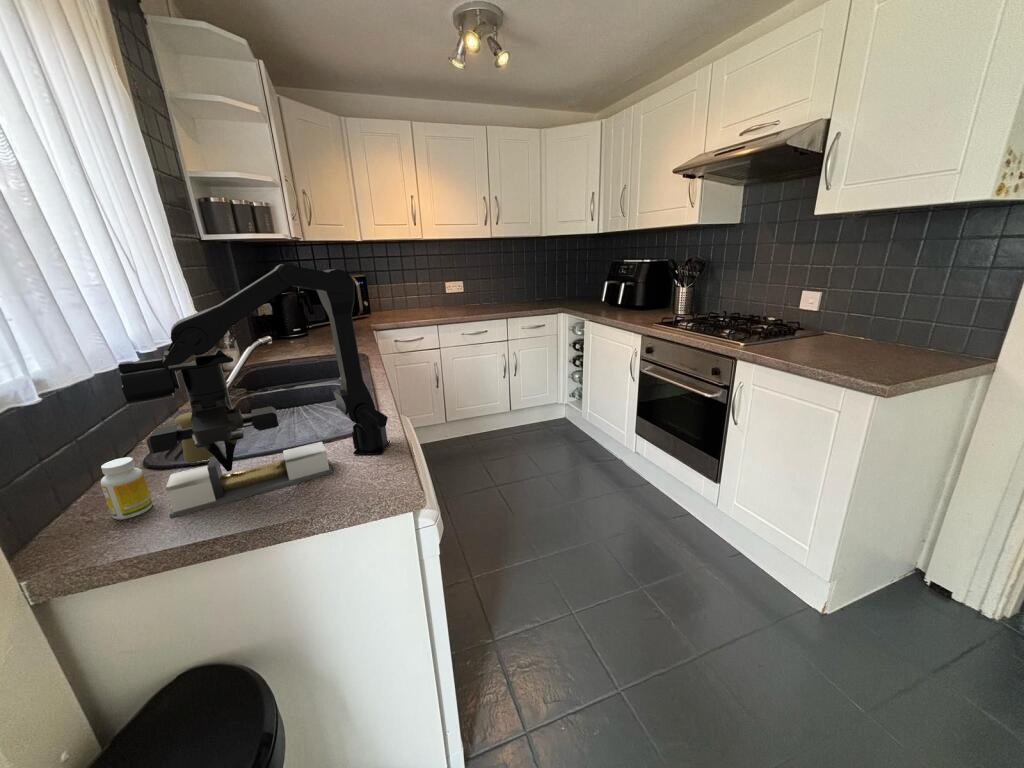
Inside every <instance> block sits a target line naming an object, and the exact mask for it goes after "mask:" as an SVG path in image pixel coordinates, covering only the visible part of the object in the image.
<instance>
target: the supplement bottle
mask: <svg viewBox="0 0 1024 768" xmlns="http://www.w3.org/2000/svg"><path fill="white" fill-rule="evenodd" d="M135 465H136V463H135V461H134V458H133V457H129V456H127V457H126V456H125V457H119V458H116V459H113V460H110V461H107V462H105V463H103V464H102V465H101V466H100V468H101V471H102V474H103V477H102V478H101V480H100V486H101V489H102V491H103V494H104V497H105V500H106V504H107V506H108V509H109V512H110V514H111V517H112V518H113V519H115V520H127V519H130V518H134V517H137V516H139V515H143V514H144V513H146V512H148V511H149V510H150V509H151V508H152V506H153V501H152V500H153V499H152V497H151V493H150V491H149V486H148V484H147V481H146V478H145V474H144V472H143V470H142V469H140V468H138V467H135Z"/></svg>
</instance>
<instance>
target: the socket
mask: <svg viewBox="0 0 1024 768" xmlns="http://www.w3.org/2000/svg"><path fill="white" fill-rule="evenodd" d="M207 467H208V464H207V465H204V466H199V467H195V468H191V469H186V470H182V471H178V472H173V473H171V474H170V476H169V478H168V481H167V483H166V486H165V489H166V493H167V496H168V499H169V503H170V506H171V508H172V509H173V512H176V511H180V510H184V509H187V508H191V507H195V506H199V505H202V504H206V503H210V502H213V501H216V497H215V494H214V490H213V487H212V483H211V479H210V476H209V472H208V469H207Z"/></svg>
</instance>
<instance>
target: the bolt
mask: <svg viewBox="0 0 1024 768" xmlns="http://www.w3.org/2000/svg"><path fill="white" fill-rule="evenodd" d="M207 465H208V467H207V469H208V472H209V476H210V479H211V483H212V487H213V490H214V494H215V497H216V498H219V497H223V496H224V491H226V490H230V489H234V488H238V487H241V486H245V485H249V484H253V483H257V482H260V481H264V480H268V479H272V478H276V477H279V476H283V475H287V474H288V472H287V468H286V463H285V459H281V460H277V461H273V462H269V463H266V464H261V465H257V466H254V467H253V466H252V467H249V468H245V469H240V470H236V471H233V472H229V473H224V474H223V472H222V468H221V464H220V462H219V461H218V460H217V459H216V458H215V456H214V457H210V458H209V462H207Z"/></svg>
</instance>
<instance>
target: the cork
mask: <svg viewBox="0 0 1024 768" xmlns="http://www.w3.org/2000/svg"><path fill="white" fill-rule="evenodd" d="M191 416H192V411H191V412H190V411H189V412H187V413H183V414H179V415H178V416H177V417H175V420H174V425H176V424H180V426H181V427H182V429H185V428H190V427H192V422H191ZM181 445H182V454H183V462H188V463H193V462H197V461H202V460H208V459H209V458H210V457H214V455H213V454H211V453H210V452H209V451H208V450H206V449H204V448H195V446H194V445H195V441H194V440H193V438H190V439H186V440H181Z"/></svg>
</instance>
